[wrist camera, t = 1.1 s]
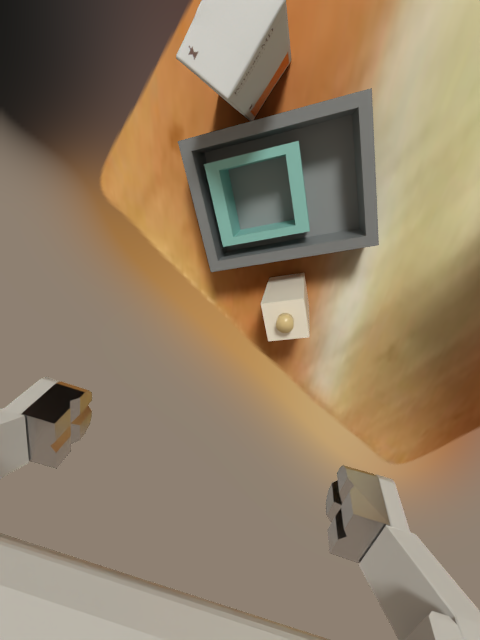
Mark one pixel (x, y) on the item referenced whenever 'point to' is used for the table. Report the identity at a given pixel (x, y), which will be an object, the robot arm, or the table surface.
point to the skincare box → (239, 49)
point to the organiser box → (274, 187)
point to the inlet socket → (226, 202)
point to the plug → (286, 307)
